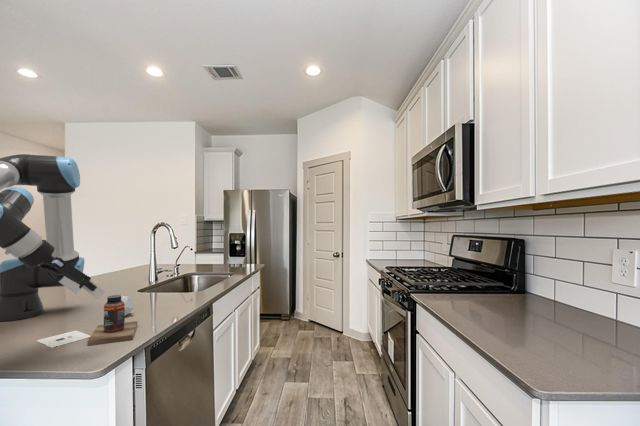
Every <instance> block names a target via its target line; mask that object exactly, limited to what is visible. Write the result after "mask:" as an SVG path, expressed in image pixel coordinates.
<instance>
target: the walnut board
mask: <svg viewBox="0 0 640 426" xmlns="http://www.w3.org/2000/svg"><path fill="white" fill-rule="evenodd" d="M137 327H138V320H131V321H126V322H125V325H124V328H123V329H122V330H120V331H116V332H105V331H104V324H98V325H97V326H96V328H95V329H94V331H93V332H92V333H91V334H90V337H89V338H87V346H88V347H89V346H95V345H104V344H110V343H118V342H119V343H120V342H127V341H133V339H134V337H135V333H136V330H137Z"/></svg>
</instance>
